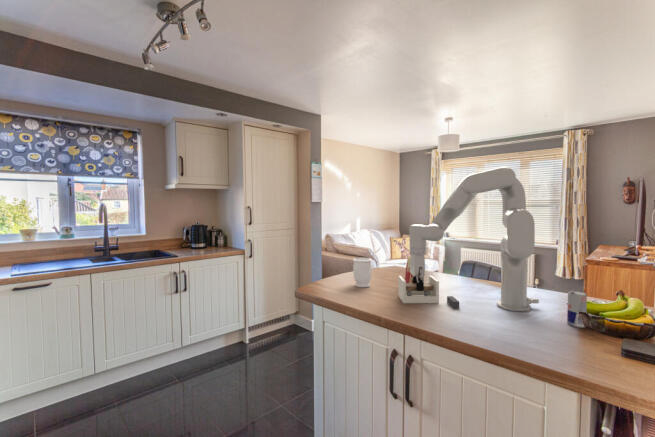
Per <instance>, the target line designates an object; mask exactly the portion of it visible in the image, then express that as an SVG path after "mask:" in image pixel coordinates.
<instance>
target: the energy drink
mask: <svg viewBox="0 0 655 437" xmlns="http://www.w3.org/2000/svg"><path fill="white" fill-rule="evenodd" d="M587 301H588V296H587V293H586V292H583V291H578V290H569V291H568V292H567V310H566V311H567V314H566V316H567V319H566V320H567V321H566V323H567V324H568V325H569V326H570V327H572V328H579V329H580V328H581V329H582V328H583V329H584V328H586V327H585V326H584V325H583V323H582V322H581V320H580V318H579V311H582V312H586V313H587V305H588V304H587V303H588V302H587Z"/></svg>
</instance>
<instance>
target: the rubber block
mask: <svg viewBox="0 0 655 437" xmlns="http://www.w3.org/2000/svg"><path fill="white" fill-rule="evenodd" d="M446 304H448V305H449V307H451V308H452V309H453V310H460V301H459V300H458V299H456V298H455V297H454V296H453V295H452V296H451V295H447V296H446Z"/></svg>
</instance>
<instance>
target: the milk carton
mask: <svg viewBox="0 0 655 437" xmlns="http://www.w3.org/2000/svg"><path fill="white" fill-rule="evenodd" d="M410 258H411V254H409V256H408V257H407V260H406V266H405V272H404V273H405V275H404V280H405V281H406V283H413V282H412V278H413V275H412V274H411V273H410ZM419 278H420V277H419Z"/></svg>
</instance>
